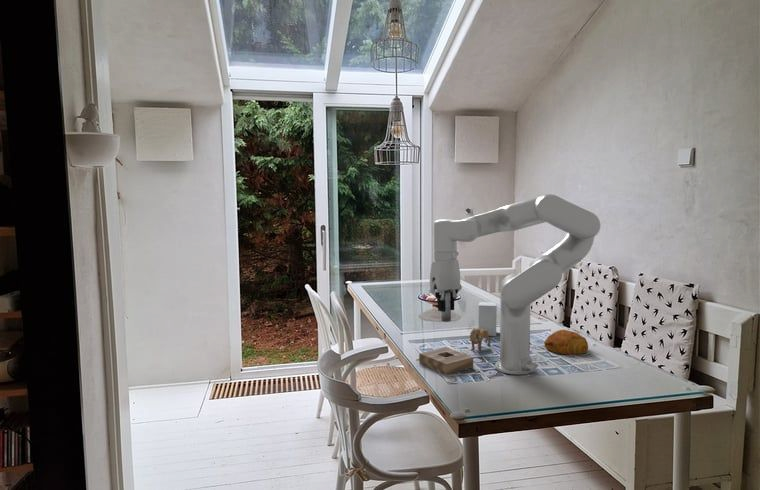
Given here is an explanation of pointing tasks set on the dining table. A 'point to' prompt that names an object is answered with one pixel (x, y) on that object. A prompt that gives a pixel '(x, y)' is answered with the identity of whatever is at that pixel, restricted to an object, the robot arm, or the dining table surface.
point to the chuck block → (446, 360)
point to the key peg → (447, 307)
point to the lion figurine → (479, 337)
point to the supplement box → (487, 317)
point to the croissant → (566, 343)
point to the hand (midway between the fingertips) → (446, 309)
